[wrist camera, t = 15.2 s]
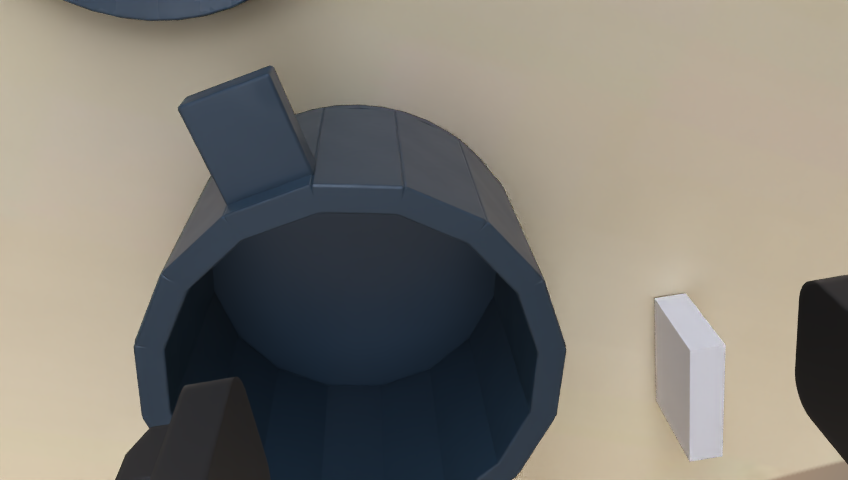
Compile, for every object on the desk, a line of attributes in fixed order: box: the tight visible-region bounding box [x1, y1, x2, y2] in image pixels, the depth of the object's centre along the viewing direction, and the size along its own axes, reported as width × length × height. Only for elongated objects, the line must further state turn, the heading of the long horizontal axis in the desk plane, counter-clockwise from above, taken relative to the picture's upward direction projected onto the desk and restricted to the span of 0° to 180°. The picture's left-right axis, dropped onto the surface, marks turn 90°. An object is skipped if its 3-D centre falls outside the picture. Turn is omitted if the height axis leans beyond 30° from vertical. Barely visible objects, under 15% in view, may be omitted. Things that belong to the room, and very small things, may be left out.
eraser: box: [654, 293, 725, 461], centre depth 29 cm, size 1×5×4 cm, turn 8°
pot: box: [134, 66, 566, 480], centre depth 25 cm, size 12×17×7 cm
